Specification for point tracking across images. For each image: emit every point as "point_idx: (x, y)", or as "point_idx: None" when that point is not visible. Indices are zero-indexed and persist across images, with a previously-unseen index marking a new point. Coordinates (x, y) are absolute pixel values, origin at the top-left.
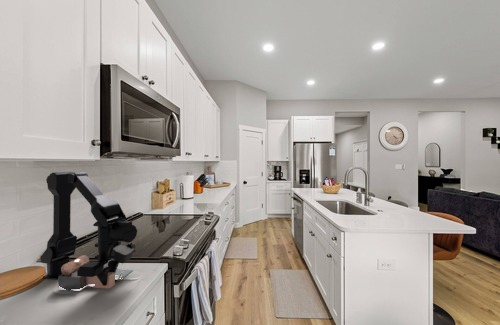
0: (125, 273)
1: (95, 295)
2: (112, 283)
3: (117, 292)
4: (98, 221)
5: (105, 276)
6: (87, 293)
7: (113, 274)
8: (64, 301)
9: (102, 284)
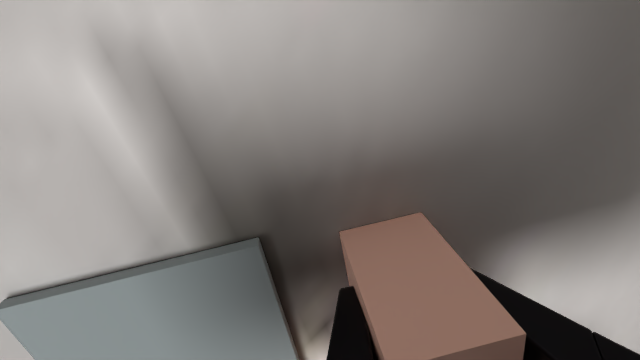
0: (117, 315)
1: (542, 223)
2: (382, 240)
3: (480, 38)
4: None
5: (627, 352)
6: None
7: (405, 338)
8: None
9: None
